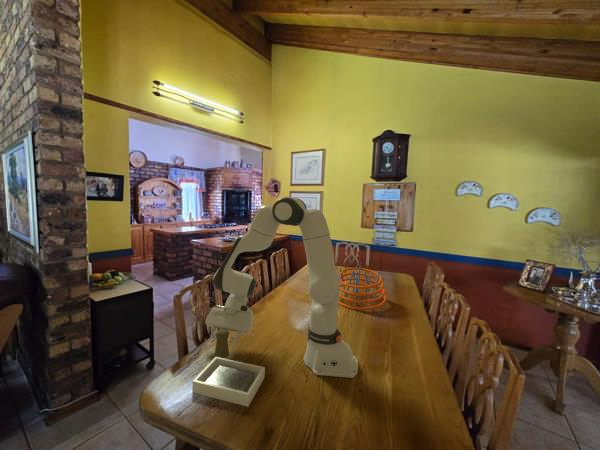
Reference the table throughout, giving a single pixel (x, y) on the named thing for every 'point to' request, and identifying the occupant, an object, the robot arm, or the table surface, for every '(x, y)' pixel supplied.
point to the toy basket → (365, 286)
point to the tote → (224, 392)
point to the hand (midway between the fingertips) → (222, 340)
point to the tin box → (232, 378)
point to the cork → (222, 343)
